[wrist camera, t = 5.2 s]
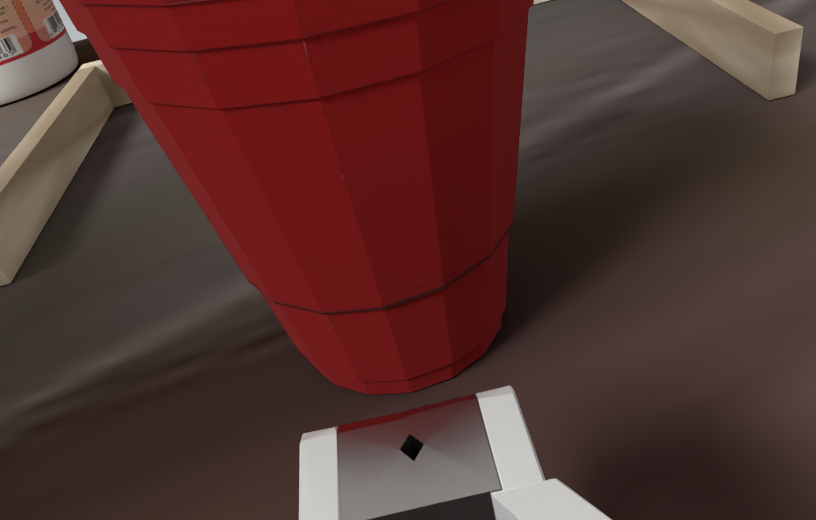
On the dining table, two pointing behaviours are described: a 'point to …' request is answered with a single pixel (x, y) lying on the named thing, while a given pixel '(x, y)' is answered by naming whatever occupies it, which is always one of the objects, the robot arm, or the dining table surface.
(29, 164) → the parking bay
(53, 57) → the fruit juice
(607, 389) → the dining table surface
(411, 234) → the plastic cup
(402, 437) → the robot arm
